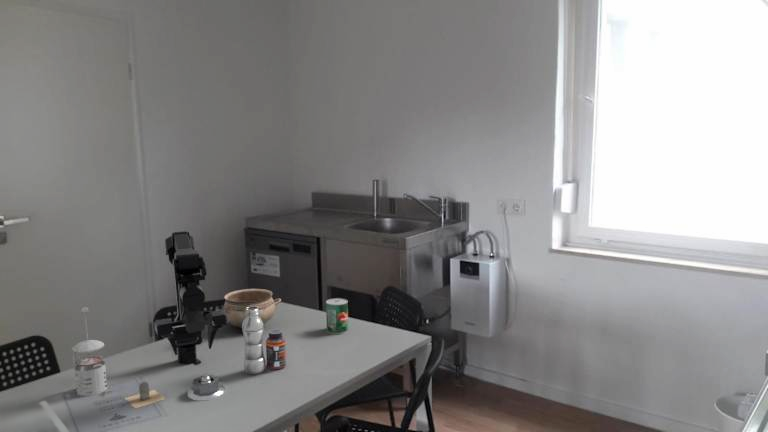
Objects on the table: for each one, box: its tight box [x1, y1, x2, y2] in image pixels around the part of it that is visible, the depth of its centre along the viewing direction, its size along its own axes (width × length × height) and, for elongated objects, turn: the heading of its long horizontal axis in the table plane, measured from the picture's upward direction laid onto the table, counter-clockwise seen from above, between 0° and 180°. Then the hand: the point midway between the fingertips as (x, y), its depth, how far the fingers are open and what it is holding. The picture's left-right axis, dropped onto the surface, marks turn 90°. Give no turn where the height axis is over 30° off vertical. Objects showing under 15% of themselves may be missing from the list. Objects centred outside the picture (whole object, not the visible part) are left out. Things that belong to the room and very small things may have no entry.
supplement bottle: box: [265, 329, 287, 371], centre depth 183 cm, size 6×6×11 cm
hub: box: [187, 374, 226, 402], centre depth 164 cm, size 10×10×6 cm
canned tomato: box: [325, 297, 349, 335], centre depth 215 cm, size 8×8×11 cm
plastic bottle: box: [241, 307, 266, 375], centre depth 178 cm, size 6×7×20 cm
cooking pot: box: [214, 288, 282, 329], centre depth 220 cm, size 25×19×12 cm
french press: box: [71, 306, 108, 397], centre depth 166 cm, size 10×12×25 cm
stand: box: [124, 381, 166, 409], centre depth 160 cm, size 8×8×6 cm
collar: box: [192, 374, 220, 396], centre depth 164 cm, size 7×7×3 cm
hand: (193, 351), depth 166 cm, fingers open, 9 cm apart
